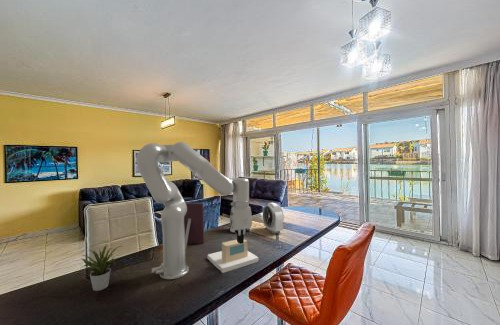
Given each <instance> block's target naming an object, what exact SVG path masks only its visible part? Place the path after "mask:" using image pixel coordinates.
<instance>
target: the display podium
mask: <svg viewBox="0 0 500 325" xmlns="http://www.w3.org/2000/svg"><path fill="white" fill-rule="evenodd" d="M207 260H209V262H210V263H212V264H213V265H214V267H216V268H217V269H218V270H219V271H220V272H221V273H222V274H225V273H227V272H230V271H235V270H237V269H239V268H240V269H241V268H242V267H245V266H249V265H252V264H254V263H255V264H256V263H258V262H259V260H260V258H259V256H257V255H256V254H254V253H252V252H250V251H249V250H248V257H245V258H241V259H238V260H235V261H231V262H228V263H226V262H225V261H224V260H222V250H220V251H217V252H213V253H208V254H207Z"/></svg>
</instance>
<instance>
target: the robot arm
mask: <svg viewBox="0 0 500 325" xmlns="http://www.w3.org/2000/svg"><path fill="white" fill-rule="evenodd" d="M136 156H137V157H136V167H137V170H138V172H139V174H140V176H141V178H142V180H143V181H144V184H145V186H146V187H147V189H148V191H149V193H150V195H151V197H152V199H153V201H155V202H156V203H158V204H163V206H164V207H163V210H162V211H161V216H160V219H161V220H160V222H161V230H162V262H161V265H159V266H157V267H156V266H155V267H152V268H151V273H152V274H154V273H155V274H156V275H157V274H159V276H160V278H161V279H164V280H175V279H179V278H182V277H184V276H186V274H188V273H189V271H190V269H189V268H190V267H189V265H187V264H186V249H185V229H184V216H185V215H186V212H187V206H186V203H187V202H185V199H184V198H183V195H182V193H181V192H180V189H179V188H178V186H177V185H176V184H175V183H174V182H173V181H170V180H168V179H167V178H166V177H165V175H164V172H163V170H162V168H160V166H159V163H166V162H167V163H168V162H178V163H180V164H181V165H183V166H184V167H185V168H187V169H188V170H189V171H190V172H192V173H193V174H194V175H195V176H196V177H197V178H198V179H200V180H202V181H203V182H204V183H205V184H206V185H208V186H209V187H210V188H212V189H213V190H214V191H215V192H217V193H218V194H219V195H220V196H221V195H222V196H229V195H231V194H232V202H230V206H231V209H230V215H229V231H230V232H231V233H235V235H236V240H237V242H238V243H240V244H242V243H244V239H245V234H246V232H247V230H248V229H251V227H252V226H253V216H252V207H251V206H249V204H250V202H249V200H250V180H249V179H248V178H245V177H244V178H243V177H237V178H233V177H232V178H231V177H227V176H225V175H224V174H223V173H221V172H220V171H219V170H218V169H216V168H215V167H214V166H213V165H212V164H211V162H210V161H209V160H208V159H206V158H205V157H204V156H202V155H201V154H200V153H199V152H197V151H196V150H195V149H194V148H192V147H191V146H190V145H189V144H188V143H185V142H182V141H179V142H176V143H173V144H158V143H154V142H153V143H152V142H151V143H148V144H145V145H143V146H142V147H141V148H140V150H139V151H138V153H137V155H136ZM230 227H231V229H230ZM248 231H249V230H248Z"/></svg>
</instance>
